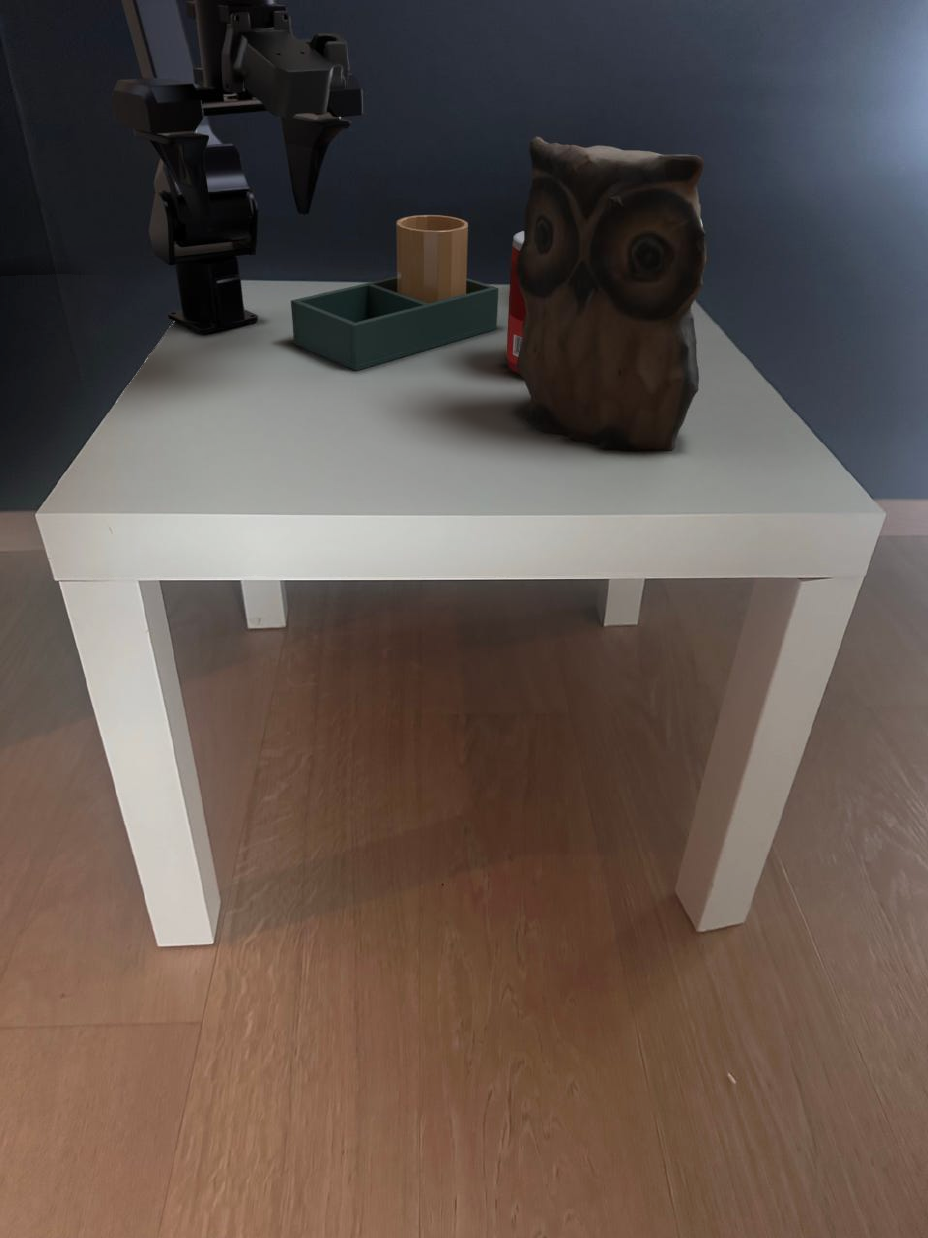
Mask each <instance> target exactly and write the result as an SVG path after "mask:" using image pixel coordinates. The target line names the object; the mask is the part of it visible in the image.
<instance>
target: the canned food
mask: <svg viewBox="0 0 928 1238" xmlns="http://www.w3.org/2000/svg"><path fill="white" fill-rule="evenodd" d="M523 242H524V230H522V231H520V232H517V233H515V234H514V235H513V241H512V243H511V244H512V245H511V259H510V273H509V274H510V276H509V277H510V278H509V297H508V313H507V314H508V315H507V316H508V317H507V334H506V337H507V338H506V352H505V353H506V354H505V356H506V360H507V364H508V367H509V368H510V370H512V371H513V372H514V373H516V374H518V375H520V374H519V373H518V371H517V368H516V364H517V360H518V355H519V351H520V347H521V341H522V335H523V331H522V324H523V322H524V319H525V317H526V308H525V301H524V297H523V295H522V292H521V290H520V287H519V284H518V282H519V279H518V276H517V274H516V269H517V258H518V254H519V251H520V249H521V247H522V244H523Z"/></svg>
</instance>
